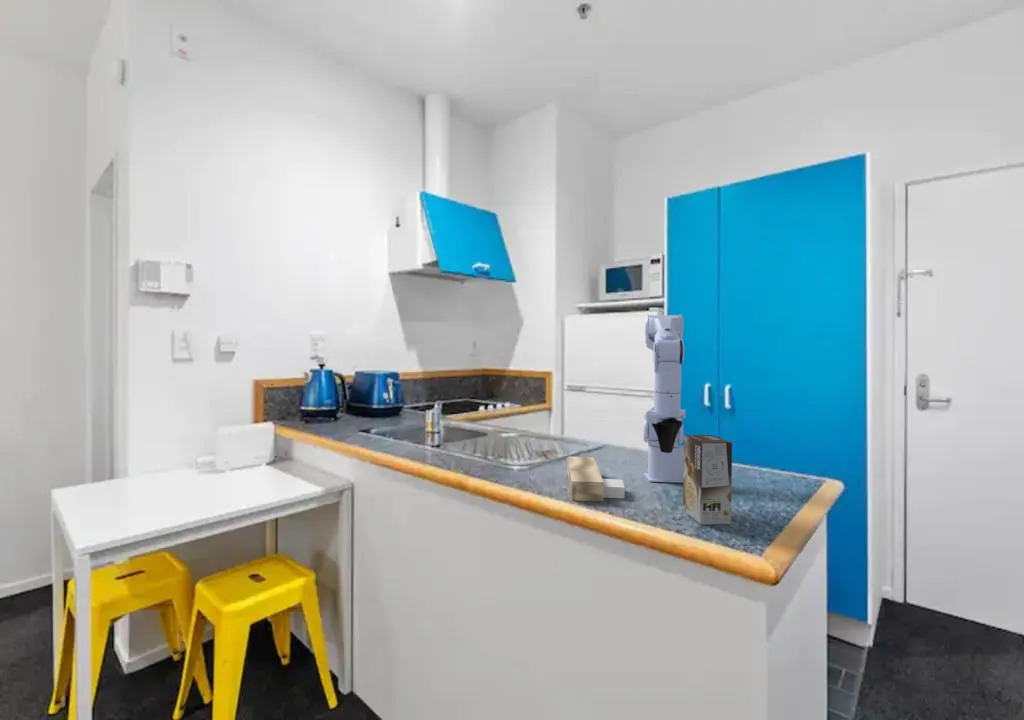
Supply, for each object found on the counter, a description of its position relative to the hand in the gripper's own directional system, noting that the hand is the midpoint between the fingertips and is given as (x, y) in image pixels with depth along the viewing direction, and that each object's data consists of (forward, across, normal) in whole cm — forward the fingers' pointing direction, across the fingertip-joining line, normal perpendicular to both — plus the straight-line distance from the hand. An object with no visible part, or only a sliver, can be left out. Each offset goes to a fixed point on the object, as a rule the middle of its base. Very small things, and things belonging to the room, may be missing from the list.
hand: (666, 452), depth 115 cm
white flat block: (+10, +8, -12) cm, 18 cm away
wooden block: (+10, +5, -19) cm, 22 cm away
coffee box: (+11, +7, +12) cm, 17 cm away
